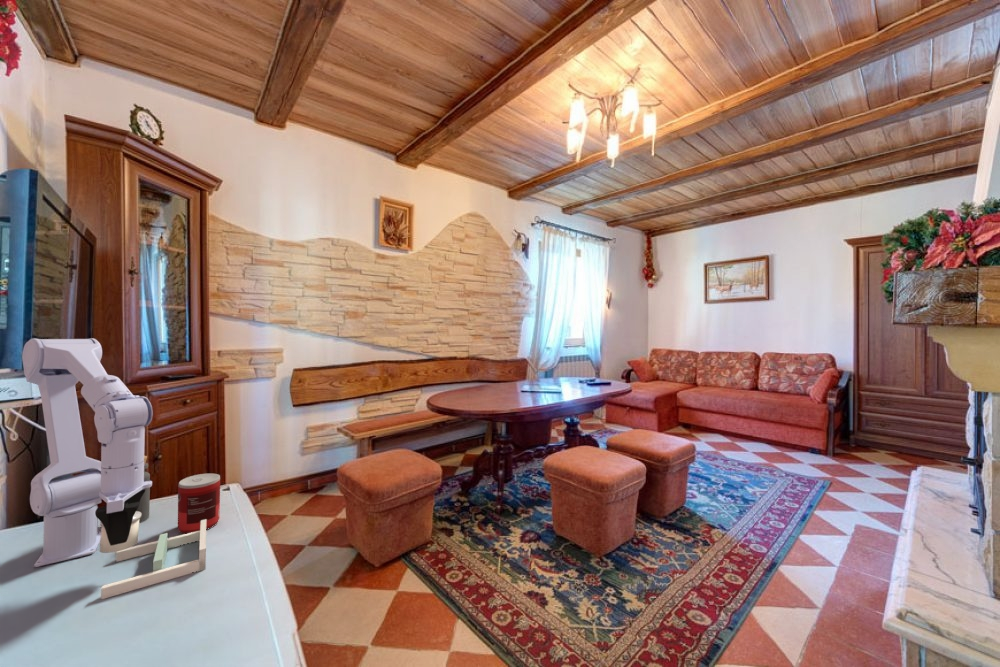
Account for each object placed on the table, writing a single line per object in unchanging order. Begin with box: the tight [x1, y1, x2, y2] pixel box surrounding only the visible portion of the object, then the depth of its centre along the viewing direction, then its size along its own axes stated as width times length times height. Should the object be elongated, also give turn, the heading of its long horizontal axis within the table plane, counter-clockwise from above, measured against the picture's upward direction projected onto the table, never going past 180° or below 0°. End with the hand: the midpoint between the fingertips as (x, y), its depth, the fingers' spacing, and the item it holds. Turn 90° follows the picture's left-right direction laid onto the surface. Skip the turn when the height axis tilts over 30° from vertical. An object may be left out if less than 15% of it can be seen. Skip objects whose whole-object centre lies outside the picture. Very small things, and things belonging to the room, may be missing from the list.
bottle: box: [137, 455, 151, 524], centre depth 90 cm, size 6×6×15 cm
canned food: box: [177, 473, 221, 534], centre depth 88 cm, size 8×8×11 cm
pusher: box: [152, 532, 169, 572], centre depth 74 cm, size 11×1×3 cm, turn 38°
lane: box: [100, 519, 207, 600], centre depth 74 cm, size 14×14×4 cm
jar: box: [98, 511, 141, 554], centre depth 70 cm, size 5×5×5 cm
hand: (121, 536), depth 70 cm, fingers closed on jar, 5 cm apart
